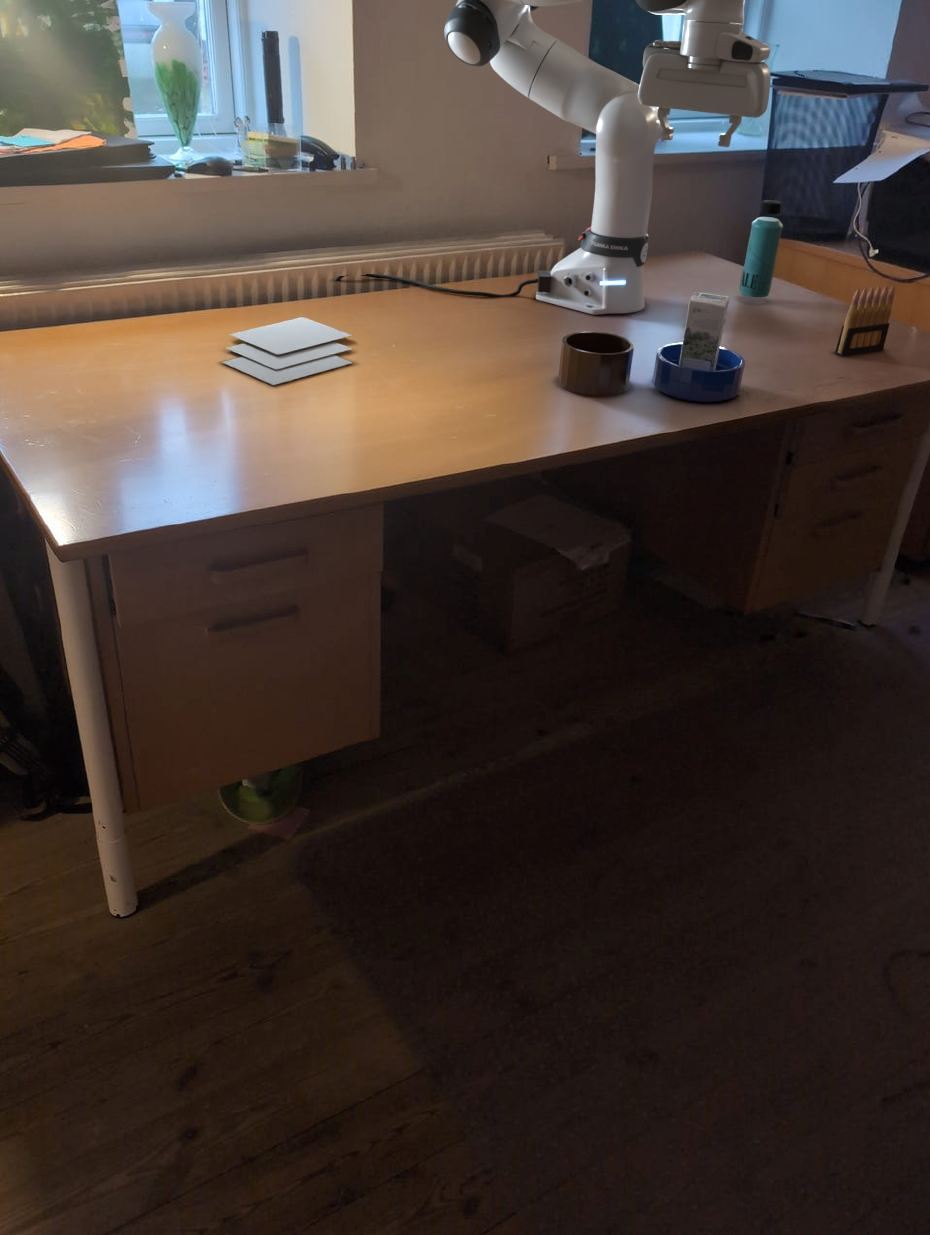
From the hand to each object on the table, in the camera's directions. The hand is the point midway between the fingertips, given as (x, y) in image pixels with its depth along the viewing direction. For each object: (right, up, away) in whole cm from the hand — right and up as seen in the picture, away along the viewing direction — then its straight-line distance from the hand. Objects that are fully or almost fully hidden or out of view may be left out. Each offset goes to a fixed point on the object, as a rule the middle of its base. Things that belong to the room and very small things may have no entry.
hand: (694, 143), depth 161 cm
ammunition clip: (+37, -26, +28) cm, 53 cm away
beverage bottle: (+25, -8, +54) cm, 60 cm away
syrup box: (+1, -37, +6) cm, 38 cm away
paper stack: (-67, -30, +13) cm, 75 cm away
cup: (-15, -37, +6) cm, 41 cm away
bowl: (+1, -38, +7) cm, 38 cm away
